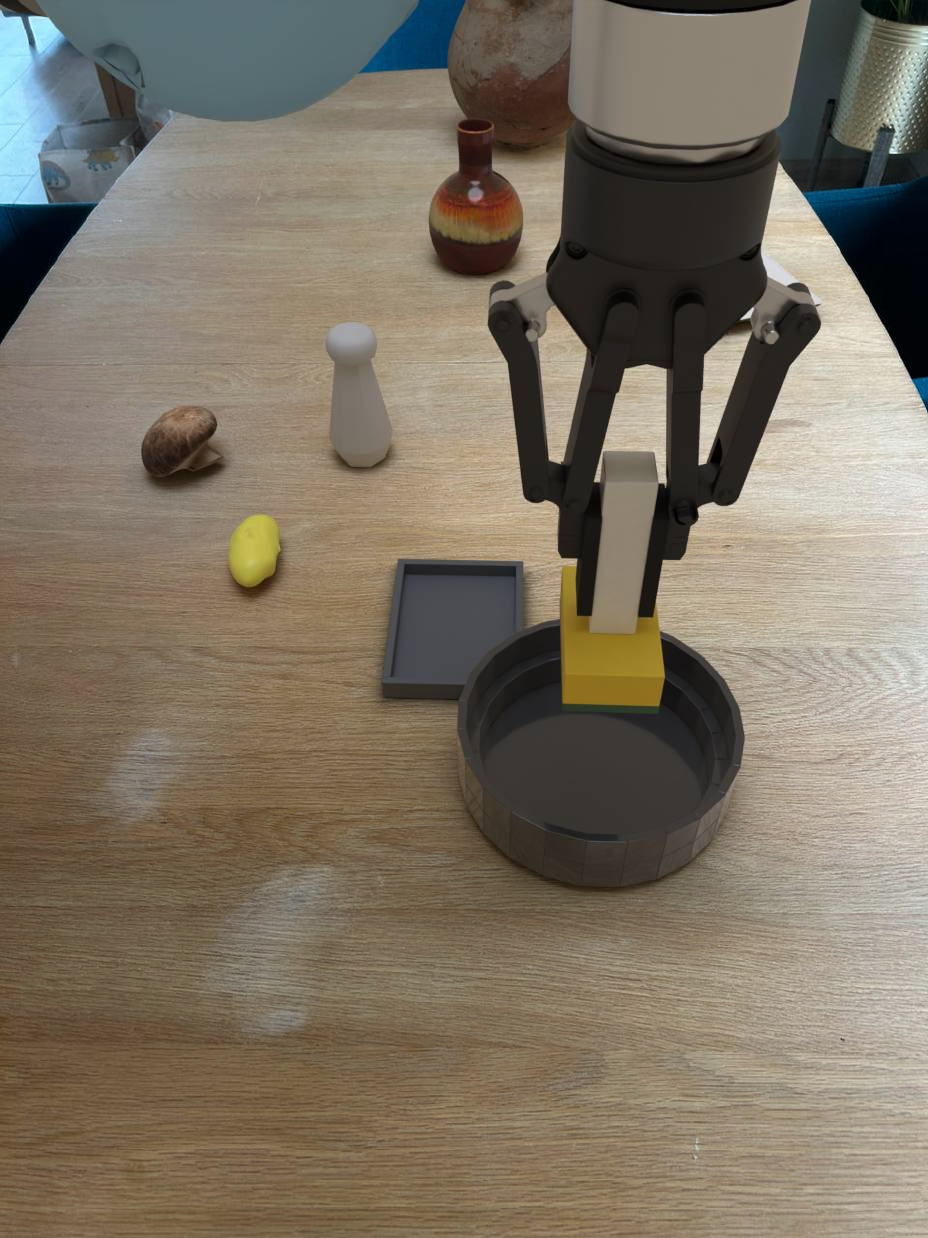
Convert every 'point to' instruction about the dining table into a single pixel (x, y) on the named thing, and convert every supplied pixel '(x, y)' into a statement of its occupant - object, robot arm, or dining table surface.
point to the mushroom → (180, 441)
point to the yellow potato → (254, 550)
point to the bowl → (595, 765)
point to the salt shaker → (357, 397)
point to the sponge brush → (615, 601)
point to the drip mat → (448, 623)
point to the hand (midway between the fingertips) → (613, 597)
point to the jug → (514, 68)
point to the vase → (475, 207)
